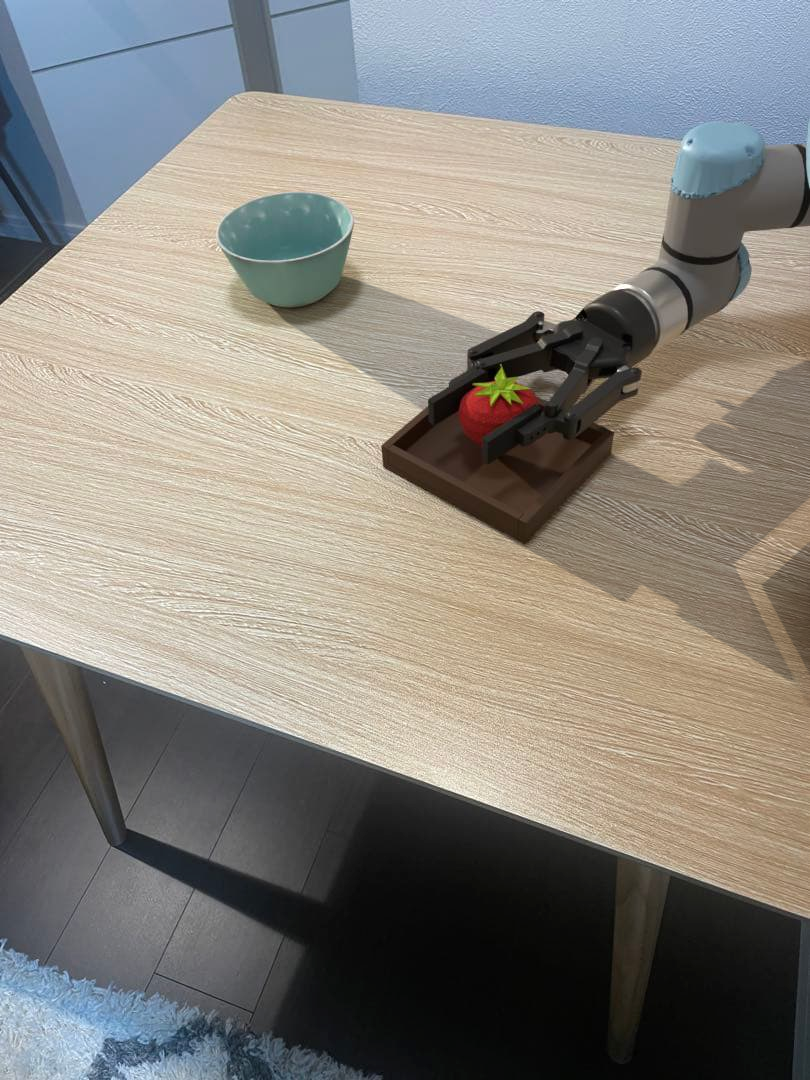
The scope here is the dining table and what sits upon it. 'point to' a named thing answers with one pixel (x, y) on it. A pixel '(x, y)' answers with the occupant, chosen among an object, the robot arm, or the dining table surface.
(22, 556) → the dining table surface
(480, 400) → the strawberry
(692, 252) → the robot arm
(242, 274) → the bowl
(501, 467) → the tray
